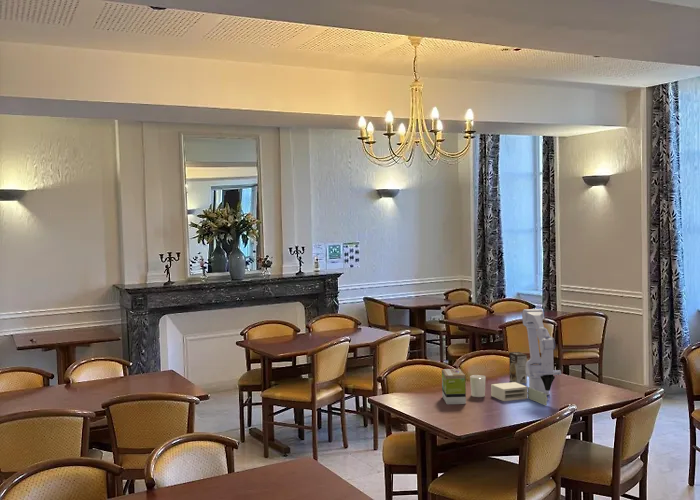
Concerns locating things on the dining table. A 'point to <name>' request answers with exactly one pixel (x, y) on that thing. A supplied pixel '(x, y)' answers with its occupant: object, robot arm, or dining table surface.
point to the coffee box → (518, 367)
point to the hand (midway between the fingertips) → (547, 390)
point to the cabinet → (509, 391)
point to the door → (537, 396)
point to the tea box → (453, 386)
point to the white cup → (477, 385)
